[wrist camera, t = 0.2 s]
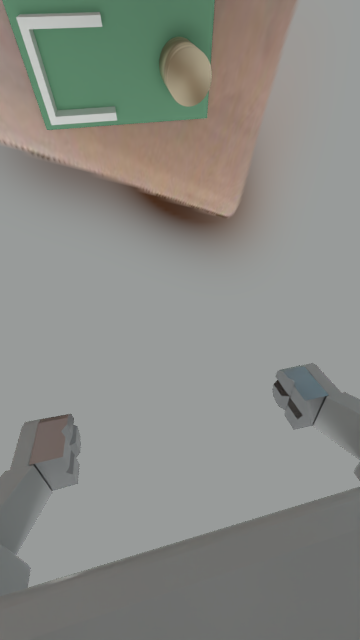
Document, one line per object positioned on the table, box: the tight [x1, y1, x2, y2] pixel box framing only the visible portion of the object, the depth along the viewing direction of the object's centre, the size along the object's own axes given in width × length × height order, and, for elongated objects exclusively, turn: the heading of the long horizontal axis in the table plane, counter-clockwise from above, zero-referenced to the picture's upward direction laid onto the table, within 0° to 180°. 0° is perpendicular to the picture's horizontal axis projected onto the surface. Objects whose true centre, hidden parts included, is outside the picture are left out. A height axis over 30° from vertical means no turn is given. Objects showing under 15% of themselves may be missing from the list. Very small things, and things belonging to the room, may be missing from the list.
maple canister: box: [159, 37, 212, 107], centre depth 38 cm, size 6×6×8 cm
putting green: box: [2, 0, 215, 130], centre depth 39 cm, size 27×14×4 cm, turn 90°
